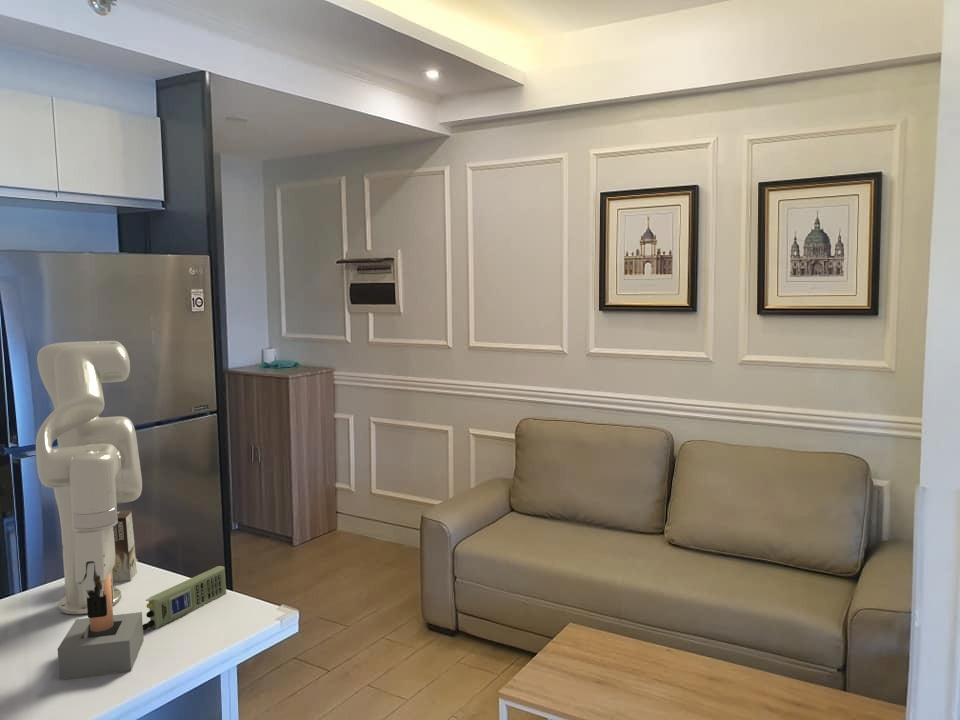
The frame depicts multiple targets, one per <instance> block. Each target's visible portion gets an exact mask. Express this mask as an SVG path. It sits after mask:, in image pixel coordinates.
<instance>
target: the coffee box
mask: <svg viewBox="0 0 960 720" xmlns="http://www.w3.org/2000/svg"><path fill="white" fill-rule="evenodd" d="M133 512H134V511H133V510H132V509H130V510H129V509H127V510H117V518H118V523H117V524H116V525H115V526H113V531H114V541H115V565H114V567H113V569H112V573H113V583H116V582H118V583H119V582H130V581H132V579H133V578H134V577H135V575H136V574H137V572H138V569H137V560H136V559H137V558H136V545H135V529H134V514H133Z"/></svg>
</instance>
